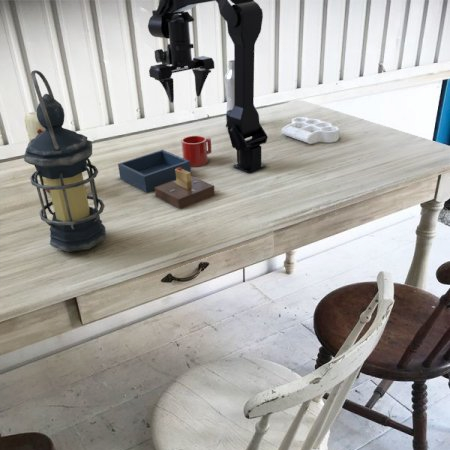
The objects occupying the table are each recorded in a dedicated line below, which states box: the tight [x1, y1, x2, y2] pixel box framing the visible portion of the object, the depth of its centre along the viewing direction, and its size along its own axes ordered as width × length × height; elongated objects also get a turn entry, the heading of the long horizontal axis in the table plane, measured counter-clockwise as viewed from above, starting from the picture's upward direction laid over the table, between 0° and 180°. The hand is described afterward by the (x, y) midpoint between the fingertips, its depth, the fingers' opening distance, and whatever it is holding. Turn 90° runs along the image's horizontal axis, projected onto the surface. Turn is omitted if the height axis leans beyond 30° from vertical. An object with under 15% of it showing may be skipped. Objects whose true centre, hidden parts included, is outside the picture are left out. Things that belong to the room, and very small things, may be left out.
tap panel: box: [154, 175, 216, 210], centre depth 130 cm, size 10×11×3 cm
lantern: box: [23, 69, 107, 253], centre depth 103 cm, size 14×13×35 cm
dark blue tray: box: [117, 149, 192, 193], centre depth 140 cm, size 13×15×4 cm
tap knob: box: [175, 167, 192, 190], centre depth 128 cm, size 4×1×4 cm, turn 41°
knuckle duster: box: [280, 116, 340, 145], centre depth 162 cm, size 3×18×15 cm
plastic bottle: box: [224, 59, 234, 123], centre depth 169 cm, size 6×7×20 cm
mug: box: [181, 135, 212, 168], centre depth 148 cm, size 9×7×6 cm
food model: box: [23, 111, 50, 194], centre depth 130 cm, size 10×7×20 cm
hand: (185, 99), depth 152 cm, fingers open, 9 cm apart
